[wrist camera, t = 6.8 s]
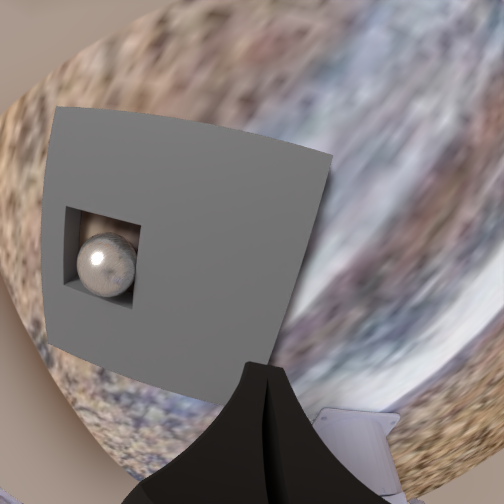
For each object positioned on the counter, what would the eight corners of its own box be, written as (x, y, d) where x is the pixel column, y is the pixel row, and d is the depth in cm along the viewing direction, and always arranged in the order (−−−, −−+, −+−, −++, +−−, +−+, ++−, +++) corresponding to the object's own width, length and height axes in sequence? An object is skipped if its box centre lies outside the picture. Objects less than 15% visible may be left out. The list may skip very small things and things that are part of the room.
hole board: (251, 393, 22) (249, 411, 20) (60, 331, 22) (48, 343, 20) (326, 155, 17) (333, 155, 15) (73, 109, 16) (56, 106, 14)
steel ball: (93, 317, 16) (61, 277, 17) (140, 302, 19) (106, 268, 20) (107, 259, 14) (72, 221, 16) (158, 251, 18) (121, 219, 19)
